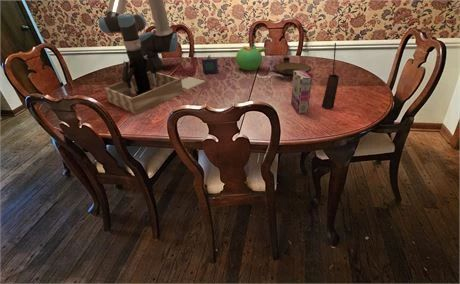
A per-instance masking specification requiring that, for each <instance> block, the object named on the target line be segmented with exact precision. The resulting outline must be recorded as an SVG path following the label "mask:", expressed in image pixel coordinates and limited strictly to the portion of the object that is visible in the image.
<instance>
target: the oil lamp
mask: <svg viewBox="0 0 460 284" xmlns="http://www.w3.org/2000/svg"><path fill="white" fill-rule="evenodd" d="M271 70H272V72H274V73H275V74H278V75H280V76H283V77H293V71H297V70H304V71H305V72H306V73H307V74H308V73H309V72H311V70H312V67H311V65H308V64H306V63H301V62H300V63H299V62H290V57H289V56H288V55H287V53H283V62H281V63H276V64H274V65H273V67H272V69H271Z"/></svg>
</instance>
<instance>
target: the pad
mask: <svg viewBox="0 0 460 284" xmlns="http://www.w3.org/2000/svg"><path fill="white" fill-rule="evenodd" d="M181 82H182V88H183V90H185V91H190V90H192V89H194V88H196V87H198V86H201V85H203V84H205V83H207V82H206V80H202V79H199V78H195V77H191V76H188V77H185V78H183V79H181Z"/></svg>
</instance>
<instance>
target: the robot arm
mask: <svg viewBox="0 0 460 284" xmlns="http://www.w3.org/2000/svg"><path fill="white" fill-rule="evenodd" d="M148 4H149V7H150V12H151V15H152V18H153V23H154V25H155V29H156V31H155V32H154V31H148V32H143V33H141V34H139V33H140V32H141V31H143V30H144V29H146V27H147V26H146V25H147V20H146V18H145V17H144V16H143V15H141V14H137V13H136V14H133V13H131V12H130V13H124V12H125V8H126V5H127V0H109V4H108V7H107V12H106V15H105V16H103V17H100V18H99V20H98V27H99V30H101V32H103V33H104V34H117V33H118V34H119V33H121V37H122V40H123V44H124V49H125V50H126V54H127V58H128V61H125V60H124V61H123V72H122V79H121V82H122V81H123V82H127V85H128V88H130V90H131V93H132V94H133V95H136V92H135V90H134V87H133V83H132V82H131V79H132V78H133V77H134V75H133V73H134V71H135V70H136V68H135V66H134V65H136V63H137V62H141V63H143V59H147V66H145V67H146V70H148V72H152V73H150V75H151V79H152V84H153V85H152V86H157V84H156V80H155V79H156V74H155V73H156V72H158V71H159V70H162V69H163V68H164V64H163V61H162V59H161V57H160V56H159V54H161V53H163V54H165V53H175V52H176V51H177V49H178V45H179V38H178V35H177V33H176V32H174V30H173V28H171V27H170V23H169V19H168V15H167V11H166V6H165V5H166V4H165V1H164V0H148ZM129 64H131V65H132V66H134V67H133V68H132V67H131V68H129ZM132 94H131V95H132Z"/></svg>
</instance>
